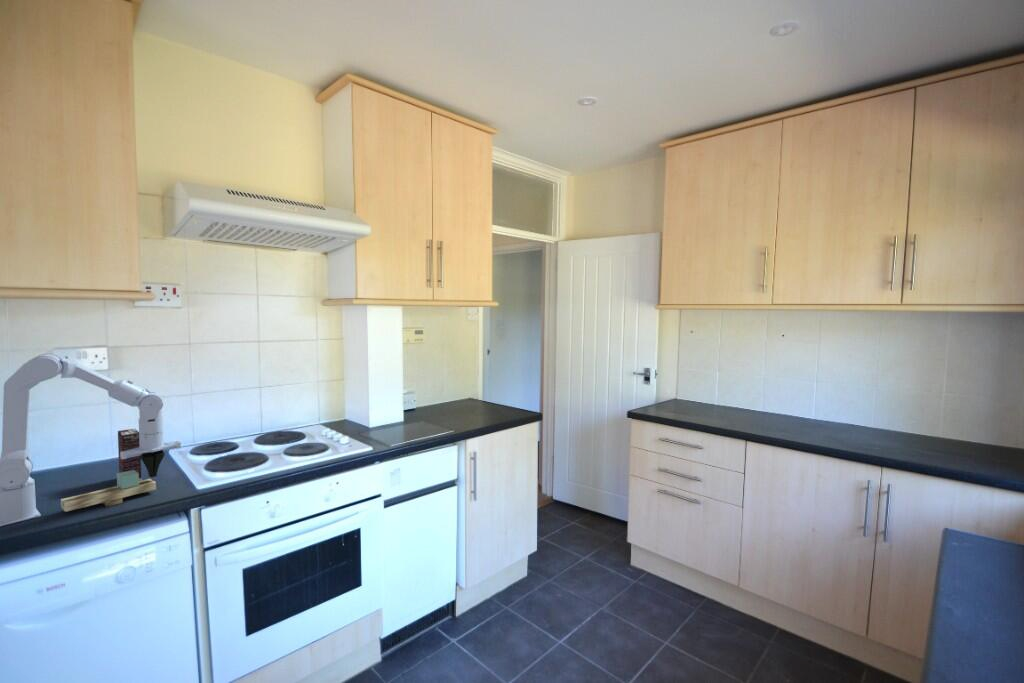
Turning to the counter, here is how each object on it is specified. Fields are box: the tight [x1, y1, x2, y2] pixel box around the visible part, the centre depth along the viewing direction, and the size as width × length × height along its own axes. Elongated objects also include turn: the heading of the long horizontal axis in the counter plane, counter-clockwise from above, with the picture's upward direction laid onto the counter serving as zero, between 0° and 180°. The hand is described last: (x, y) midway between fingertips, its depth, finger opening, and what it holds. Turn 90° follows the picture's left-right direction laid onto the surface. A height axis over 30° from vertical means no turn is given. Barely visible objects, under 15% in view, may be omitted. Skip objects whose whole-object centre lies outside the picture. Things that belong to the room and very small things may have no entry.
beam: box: [60, 478, 157, 513], centre depth 132 cm, size 20×6×4 cm, turn 144°
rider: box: [116, 470, 139, 489], centre depth 135 cm, size 4×5×5 cm
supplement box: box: [117, 428, 143, 481], centre depth 150 cm, size 9×5×16 cm, turn 48°
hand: (152, 476), depth 140 cm, fingers closed
